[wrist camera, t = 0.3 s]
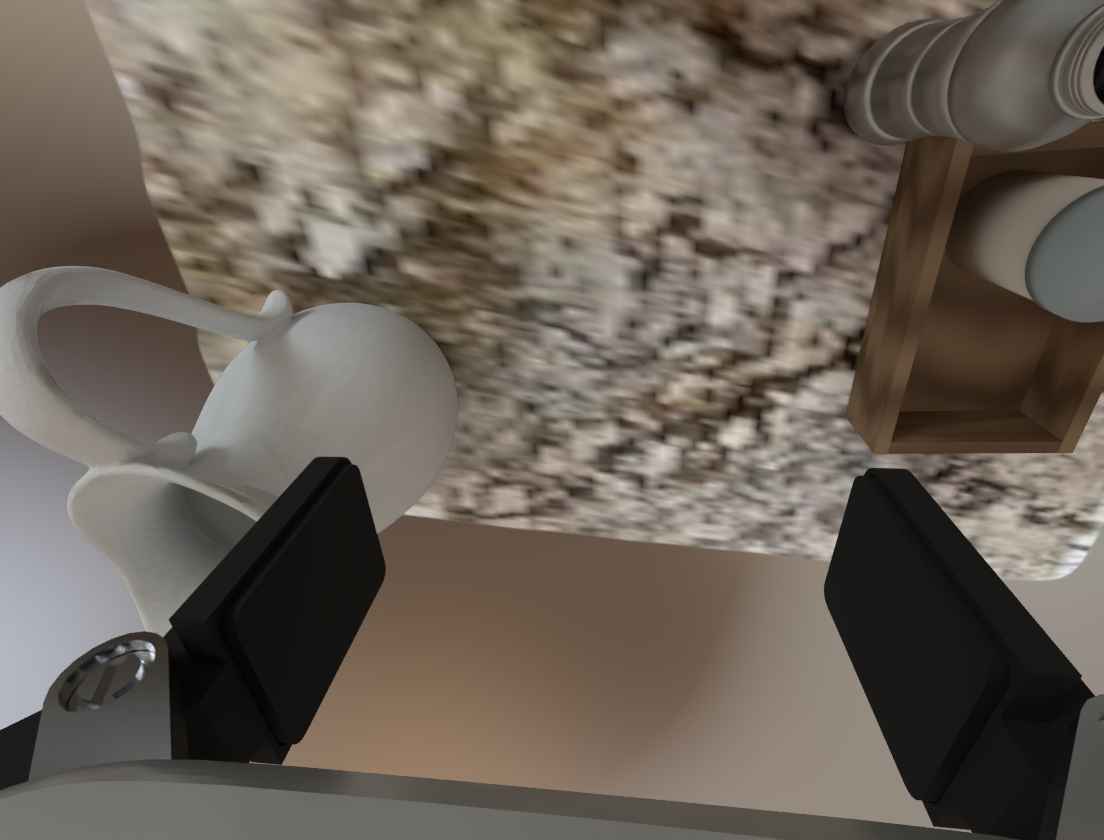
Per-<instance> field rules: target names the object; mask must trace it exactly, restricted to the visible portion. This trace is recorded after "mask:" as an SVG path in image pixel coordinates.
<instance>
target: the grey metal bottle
mask: <svg viewBox="0 0 1104 840" xmlns="http://www.w3.org/2000/svg"><path fill="white" fill-rule="evenodd" d="M843 105H844V113H845V117H846V119H847V122H848V124H849V126H850V127H851V129H852V130H853V131H854V132H855V133H856V134H858V135H859V136H860V137H862V138H863V139H865V140H867V141H869V142H871V143H873V144H878V145H896V144H901V143H905V142H910V141H914V140H917V139H919V138H922V137H929V136H944V137H951V138H955V139H958V140H961V141H964V142H966V143H969V144H972V145H975V146H977V147H980V148H985V149H990V150H996V151H1001V152H1017V151H1023V150H1027V149H1032V148H1036V147H1038V146H1041V145H1044V144H1047V143H1049V142H1052V141H1055V140H1057V139H1060V138H1062V137H1065V136H1067V135H1069V134H1070V133H1072V132H1074V131H1076V130H1078V129H1080V128H1081V127H1083V126H1084V125H1086V124H1087V123H1088V122H1090V121H1091V120H1092V119H1099V118H1104V0H1000V1H999V2H997V3H995V4H993V5H992V6H990V7H988V8H986V9H984V10H982V11H979V12H977V13H975V14H972V15H969V16H967V17H965V18H959V19H952V20H945V19H925V20H916V21H912V22H909V23H906V24H904V25H901V26H899V27H897V28H895V29H894V30H892V31H891V32H889V33H888V34H886V35H885V36H883V37H882V38H881V39H880V40H878V41H877V42H876V43H875V44H874V45H872V46H871V47H870V48H869V49H868V50H867V51H866V52H865V53H864V55H863V56H862V57H861V58H860V59H859V61H858V62H857V64H856V65H855V67H854V69H853V70H852V72H851V75H850V77H849V79H848V82H847V85H846V89H845V93H844V104H843Z"/></svg>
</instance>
